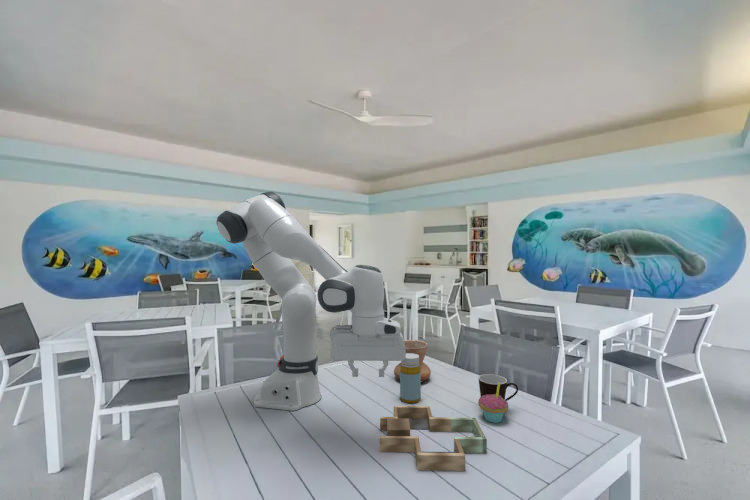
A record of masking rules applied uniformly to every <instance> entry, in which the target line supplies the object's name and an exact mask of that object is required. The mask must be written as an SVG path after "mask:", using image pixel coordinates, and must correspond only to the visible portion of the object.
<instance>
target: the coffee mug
mask: <svg viewBox="0 0 750 500" xmlns="http://www.w3.org/2000/svg"><path fill="white" fill-rule="evenodd" d="M477 379H478V386H479V394H480V397H482V396H483V395H486V394H487V395H489V394H496V392H497V386H498V383H499V381H500V388H499V394H498V395H499V396H501V397H502V398H504V400H506V401H507V402H508V401H509V400H511V399H513V398H514V397H515V396H516V395H517V394H518V392H519V387H518V385H517V384H516V383H514V382H509V383H508V380H507V378H506V377H504V376H501V375H499V374H498V375H497V374H492V373H486V374H485V373H484V374H480V375H479V376H478V378H477ZM509 386H514V387H515V392H514V393H513V394H512V395H510V396H508V397H506V392H507V389H508V387H509Z"/></svg>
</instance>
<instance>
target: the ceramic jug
mask: <svg viewBox="0 0 750 500" xmlns="http://www.w3.org/2000/svg"><path fill="white" fill-rule="evenodd" d="M404 344H405V352H406V353H414V354H417V355H419V367H420V371H421V383H422V382H425V381H427V380H428V379H429V378H430V376H431V375H432V374H431V372H432V371H431V368H430V367H429V366H428V364H426V363H424V359H425V356H426V355H427V350H428V343H427V342H425V341H423V340H419V339H414V340H413V339H404ZM400 368H401V362H399V363H398V364H396V366H395V367H394V369H393V373H394V375H395V376H394V377H396V378H397V379H398V380H400Z"/></svg>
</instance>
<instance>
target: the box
mask: <svg viewBox="0 0 750 500" xmlns="http://www.w3.org/2000/svg"><path fill="white" fill-rule="evenodd" d="M387 418H395V419H409V424H410V430H424V431H425V430H427V431H428V430H429V432H436V433H437V432H446V433H447V432H448V433H450V432H451V433H452V432H453V433H454V432H455V433H459V432H460V433H472V434H473V436H453V451H422V449H421V442H420V437H419V436H418V435H417V436H416V435H412V436H411V435H410V436H387V435H379V440H378V441H379V452H381V453H414V454H415V463H416V469H417V471H448V472H449V471H452V472H455V471H456V472H457V471H459V472H461V471H462V472H466V454H488V448H487V447H488V445H487V444H488V443H487V442H488V440H487V437H486V435H485V433H484V431H483V430H482V428H481V426H480V424H479V422H478V420H477V418H476V417H447V416H445V417H441V416H440V417H435V416H433V414H432V410H431V406H430V405H393V416H380V418H379V422H380V423H379V431H380V432H387Z"/></svg>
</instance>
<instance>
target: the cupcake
mask: <svg viewBox="0 0 750 500" xmlns="http://www.w3.org/2000/svg"><path fill="white" fill-rule="evenodd" d="M499 388H500V381H499V383H498V386H497V392H496V394H489V395H487V394H486V395H483V396H482V397H481V396H480V397H479V399H478V401H477V404H478V407H479V408H480V409H481V410H482V411H483V416H484V418H485V420H486V421H487V422H490V423H495V424H498V423H501V422H502V420H503V417H504V414H505V413H506V412H507V411H508V410H509V404H508V403H509V402H508V400H507V401H506V400H504V398H502V397H501V396H499V395H498V394H499Z"/></svg>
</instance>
